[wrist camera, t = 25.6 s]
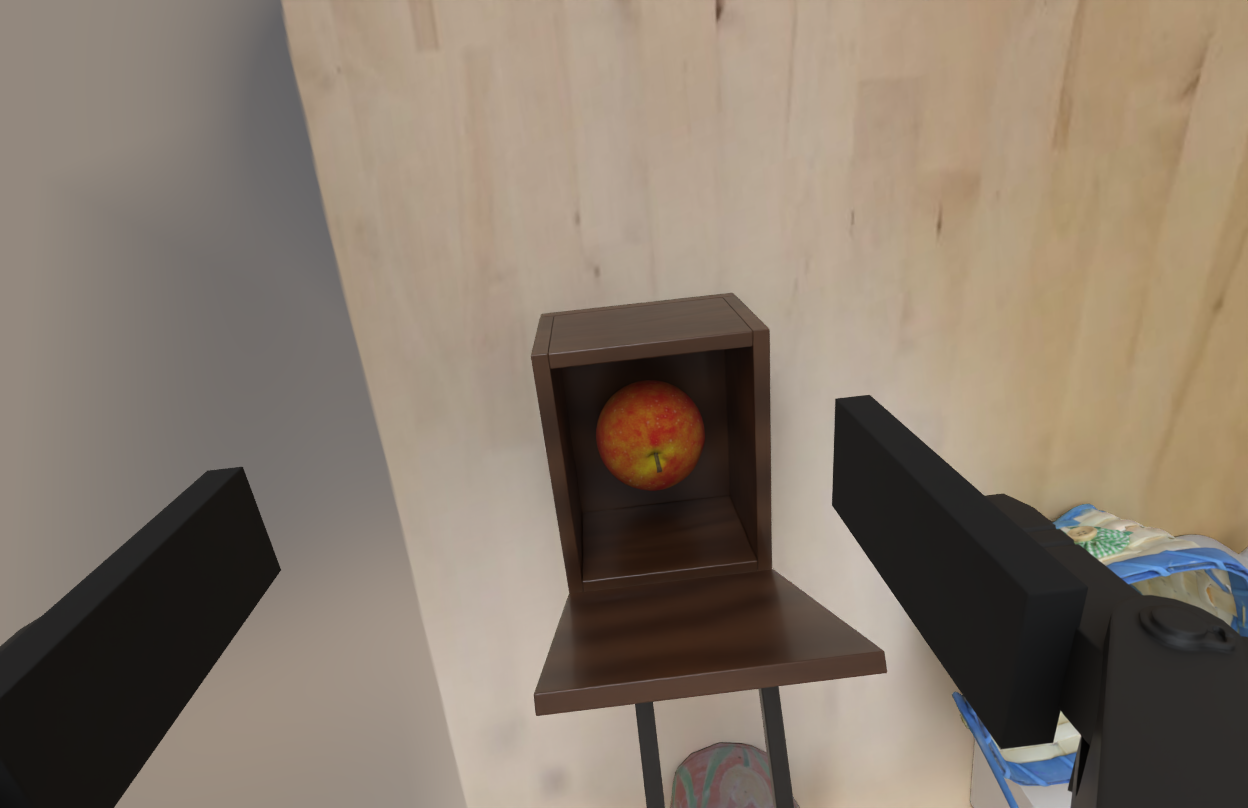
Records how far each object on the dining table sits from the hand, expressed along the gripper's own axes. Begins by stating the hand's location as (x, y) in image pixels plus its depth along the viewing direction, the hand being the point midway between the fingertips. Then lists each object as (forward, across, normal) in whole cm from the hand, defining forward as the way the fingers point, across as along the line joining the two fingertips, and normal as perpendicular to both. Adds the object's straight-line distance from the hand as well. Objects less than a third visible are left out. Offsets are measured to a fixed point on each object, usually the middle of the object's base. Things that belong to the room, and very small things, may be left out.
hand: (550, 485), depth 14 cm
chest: (+29, +4, -11) cm, 31 cm away
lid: (+12, +4, -15) cm, 20 cm away
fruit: (+28, +4, -11) cm, 30 cm away
